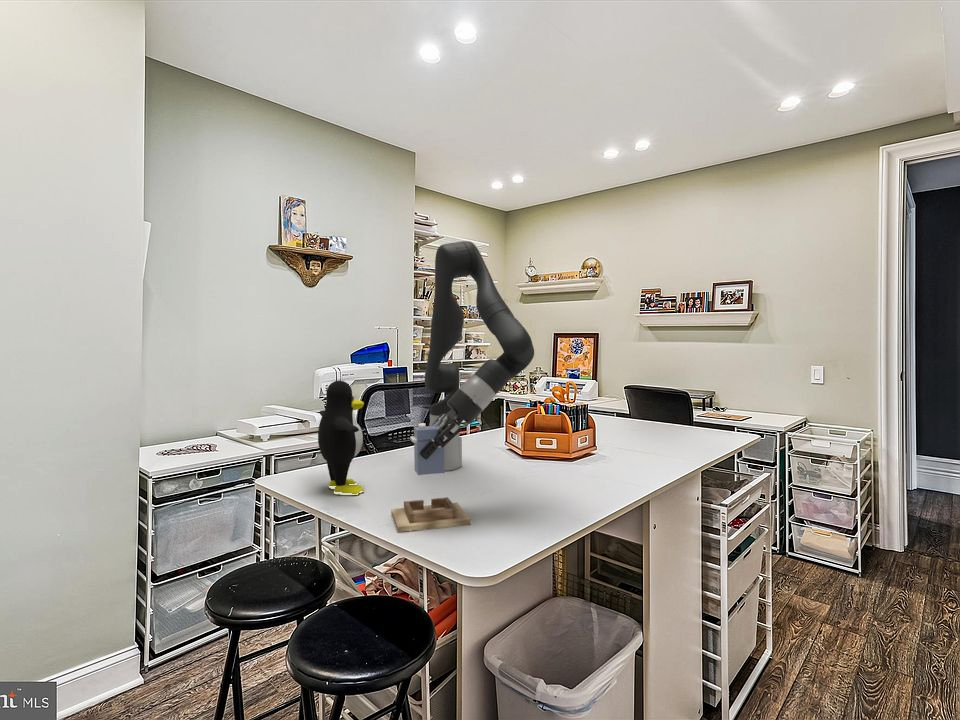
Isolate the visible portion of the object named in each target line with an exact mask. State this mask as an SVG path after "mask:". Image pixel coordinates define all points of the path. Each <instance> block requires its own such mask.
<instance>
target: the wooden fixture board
mask: <svg viewBox="0 0 960 720" xmlns="http://www.w3.org/2000/svg"><path fill="white" fill-rule="evenodd" d="M424 501H425V500H424V499H417V500H407V501H405V500H404V501H403V507H400V508H399V507H398V508H391V512H390V513H392V515H391V517H392V516H393V517H392V520H393V519H394V520H393V523H394V522H395V523H394V525H395V524H396V526H395V528H396V527H397V529H396V531H397V530H398V531H397V533H398V532H400V533H403V532H402V531H409V532H411V531H410V530H418V531H425V530H424V529H426V530H435V529H442V528H451V527H460V526H461V527H462V526H468V525H469V526H470V525H471V521H472V520H471V518H470V517H469V515H468V514H467V512H466V511H465V510H464V509H463V507H462V506H461V505H460V504H459V502H452V501H451V500H450V499H449V497H437V498H431V500H430V501H431V503H430V505H429V504H428V505H424V504H425V502H424Z"/></svg>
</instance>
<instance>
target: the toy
mask: <svg viewBox="0 0 960 720" xmlns="http://www.w3.org/2000/svg"><path fill="white" fill-rule="evenodd" d="M325 394H326V395H325V396H326V401H325V403H326V404H325V408H324V410H320V411H319V414H320V416H321V418H320V421H319V425H318V430H317V431H318V434H317V443H318V444H317V445H318V448H319V452H320V454H321V456H322V458H323V459H324V460H325V461H326V466H327V469H328V470H327V471H328V474H329V479H330V482H329V484H328V485H329V486H336V487H335V489H333V491H335V492H342V493H352V494H357V493H359V492H360V491H364V490H365V489H364V488H363V487H362V485H360V484H357V485H349V484H355V483H357V482H356V481H354V479H352V478H348V473H349V469H350V466H351V463H352V462H353V460H354V458H356V456H357V455H358V454H359V453H360V451H361V449H362V447H363V443H364V441H363V440H364V438H363V437H364V435H363V431H362V428H361V426H360V425H359V423H357V419H356V416H355V414H354V411H355V410H356V411H357V410H360V409H362V408H363V407H364V405H365V403H364V401H362V400H359V399H357V398H356V399H355V397H354V395H353V390H352V387H351V386H350V385H349V383H347V382H346V381H344V380H334V381H333V382H331V383H330V384H329V385H328V387H327V389H326V393H325Z"/></svg>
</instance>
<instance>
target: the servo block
mask: <svg viewBox="0 0 960 720" xmlns="http://www.w3.org/2000/svg"><path fill="white" fill-rule="evenodd" d="M417 425H418V426H414V427H413V436H410V437H409V440H411V442H412V443H413V446H414V447H413V448H414V449H413V451H414V452H413V453H414V454H413V455H414V458H413V459H414V471H415V473H416V475H418V476H422V475H423V476H424V475H435V474H444V473H445V471H444V447H440V448H438V447H437V449H436V450H435V451H434V453H433V454H432V455H431V456H430V457H429V458H428V459H427V460H426V459H424V458H423V457H422V456H421V455H420V451H421V450H422V449H423V448H424V447H425V446H426V445H427V444H428V443H429V442H430V441H431V439H432V438H433V437H434V436H435V434H436V430H437V428H438V427H439V426H430V425H428V426H427V425H426V423H424V422H423V423H422V422H420V423H418V424H417ZM441 430H442V431H443V429H441ZM441 439H443V438H442V437H441ZM431 442H432V441H431Z"/></svg>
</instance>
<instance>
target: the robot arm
mask: <svg viewBox="0 0 960 720" xmlns="http://www.w3.org/2000/svg"><path fill="white" fill-rule="evenodd" d="M434 259H435V260H434V298H433V299H434V300H433V309H432V316H431V324H430V334H429V335H430V336H429V337H430V339H429V351H428V354H427V361H426V366H425V371H424V372H425V373H424V386H425V389H426V391H427V392H428V393H433V394H437V393H438V394H441V393H443V394H444V393H447V395H446V396H445V397H444V398H443V399H442V400H439V401H438V402H435V403H433V404H431V405H430V406H429V426H439V427H438V428H437V430H436V434H435V436H434V437H433V438H432V439H431V441H432V442H431V441H430V442H429V443H428V444H427V445H426V446H425V447H424V448H423V449H422V450H421V451H420V455H421V456H422V457H423V458H424V459H426V460H427V459H428V458H429V457H430V456H431V455H432V454H433V453H434V451H435V450H436V449H437V447H438V448H440V447H444V472H446V471H447V472H448V471H454V470H457V469H460V468H462V467H463V438H462V436H460V432H462V428H461V427H460V426H461V424H462V423H463V422H465V423H466V424H467V425H471V424H473V422H474V421H475V420H476V418H478V417H479V416H480V414H481V413H482V412H483V411H484V410H485V408H487V407H488V406H489V404H490V403H491V402H492V400H493V399H494V398H495V396H496V395H497V394H498V393H499V392H500V391H501V390H502V389H503V387H504V386H505V385H506V384H507V383H508V382H509V381H511V379H513V378H515V377H516V376H517V375H518V374H520V373H522V372H523V371H524V370H525V369H526V368H527V367H528V366H529V365H530V364H531V362H532V361H533V359H534V356H535V348H534V345H533V342H532V337H531V336H530V334H529V332H528V331H527V329H526V328H525V327H524V326H523V325H522V323H521V322H520V321H519V320H518V319H517V318H516V317H515V315H514V314H513V312H512V311H511V309H510V308H509V306H508V305H507V303H506V302H505V301H504V299H503V297H502V296H501V294H500V293H499V291H498V289H497V287H496V285H495V282H494V281H493V278H492V275H491V273H490V271H489V269H488V267H487V264H486V262H485V259H484V258H483V255H482V254H481V252H480V250H479V248H478V247H477V246H476V245H475V243H473V242H472V241H469V240H464V241H463V240H462V241H455V242H448V243H444V244H440V245H439V246H438V248H437V250H436V252H435V258H434ZM469 276H470V277H471V279H473V280H474V282H475V283H476V288H477V289H476V297H475V298H476V300H475V301H476V302H475V304H476V310H477V313H478V315H479V316H480V318H481V319H482V321H483V322H484V325H485V326H486V328H487V329H488V331H489V332H490V333H491V334H492V335H493V336H494V337H495V338H496V340H497V342H498V344H499V345H500V347H501V349H502V350H503V352H502V354H500V355H499V356H498V357H497V358H496V359H494V358H493V359H491V358H489V359H488V360H486V361H484V363H482V365H481V366H480V367H479V368H478V369H477V370H476V371H475V372H474V373H473V374H472V375H471V376H470V377H469V378H468V379H467V380H465V381H464V383H463V384H462V385H461V386H460V383H461V381H460V379H461V372H460V368H459V366H458V364H457V363H454V362H453V363H441V362H442V360H443V359H444V357H445V356H446V355H447V354H448V353H449V352H450V351H451V350H452V349H453V348H454V347H455V346H456V345H457V344H458V342H459V341H460V339H461V337H462V335H463V328H464V322H465V315H464V312H463V309H462V308H461V306H460V305H459V303H458V301H457V300H456V298H455V296H454V294H453V283H454V280H455V279H458V278H463V277H469ZM441 429H443V431H442V430H441ZM441 437H442V438H443V439H441Z"/></svg>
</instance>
